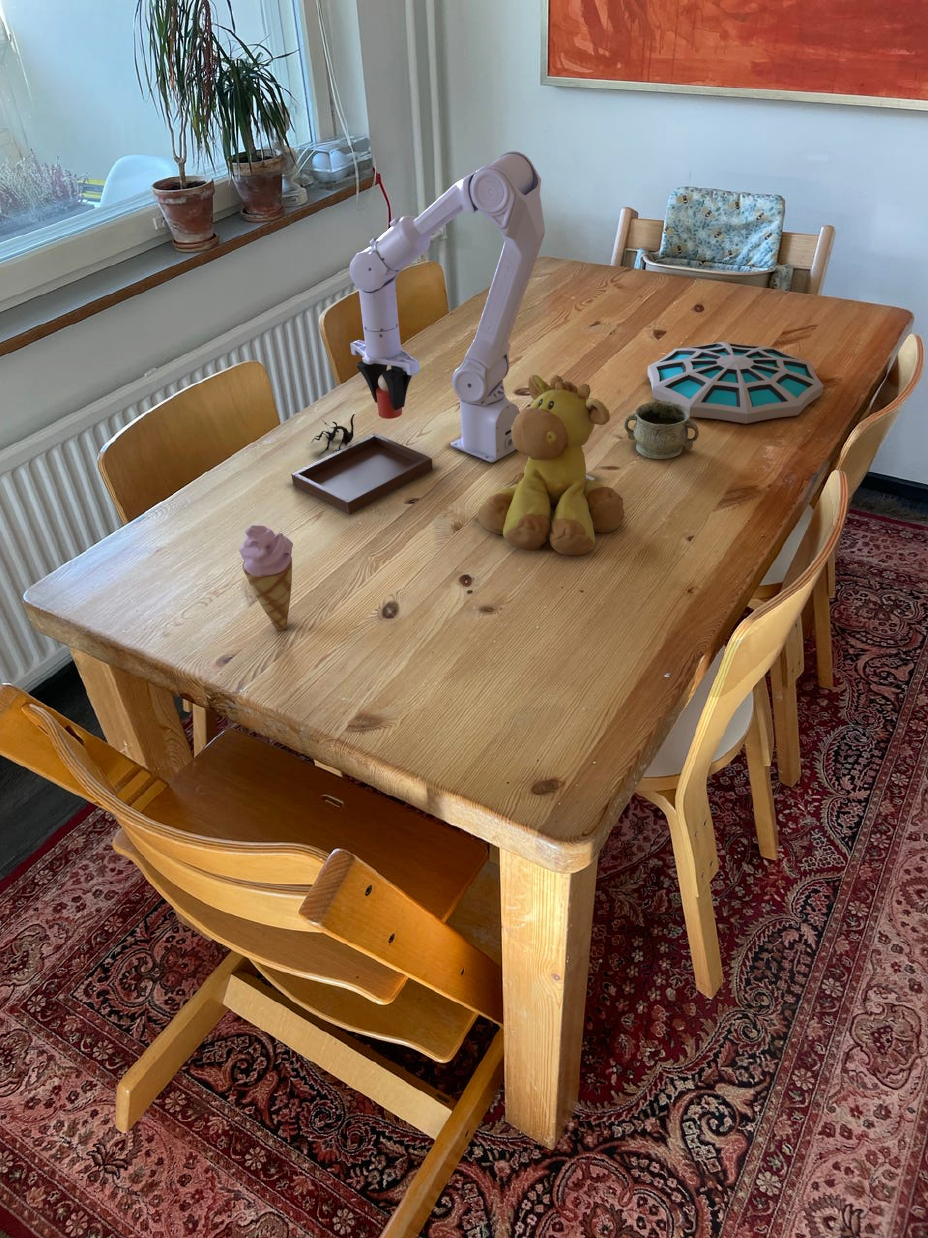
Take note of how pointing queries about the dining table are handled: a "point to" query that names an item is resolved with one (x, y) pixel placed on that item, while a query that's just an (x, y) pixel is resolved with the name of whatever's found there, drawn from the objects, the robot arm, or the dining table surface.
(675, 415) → the vessel
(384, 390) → the peg doll
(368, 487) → the tray
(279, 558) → the ice cream cone
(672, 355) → the decorative platform
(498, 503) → the giraffe plush
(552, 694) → the dining table surface
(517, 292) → the robot arm
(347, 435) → the creature
